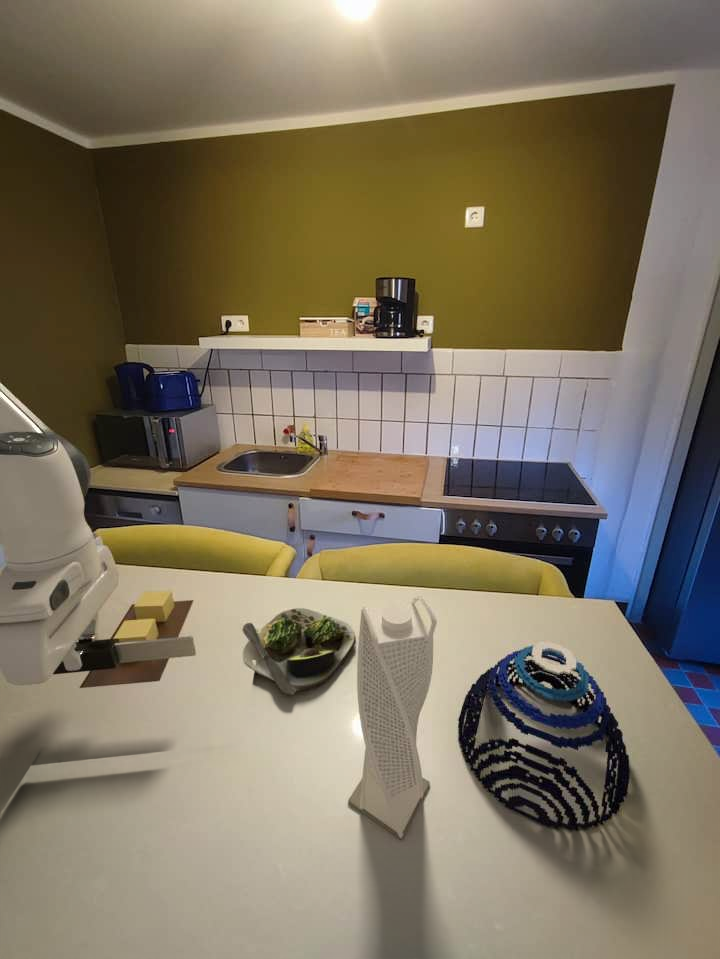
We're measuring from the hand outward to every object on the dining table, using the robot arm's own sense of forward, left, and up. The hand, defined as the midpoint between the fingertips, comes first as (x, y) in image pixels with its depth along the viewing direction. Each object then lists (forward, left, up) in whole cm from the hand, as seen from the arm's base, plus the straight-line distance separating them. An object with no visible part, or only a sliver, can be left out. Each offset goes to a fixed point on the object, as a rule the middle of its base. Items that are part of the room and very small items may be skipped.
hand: (83, 655), depth 57 cm
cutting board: (-1, +14, -11) cm, 18 cm away
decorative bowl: (+59, -11, -11) cm, 61 cm away
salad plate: (+28, +9, -11) cm, 31 cm away
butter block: (+1, +12, -9) cm, 15 cm away
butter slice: (+1, +20, -9) cm, 22 cm away
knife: (+5, 0, -2) cm, 6 cm away
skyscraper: (+39, -16, -11) cm, 43 cm away
